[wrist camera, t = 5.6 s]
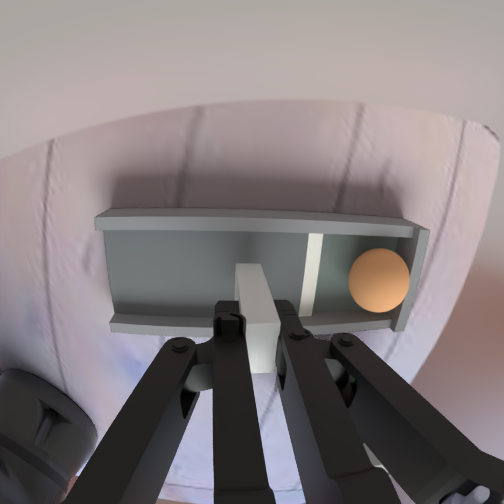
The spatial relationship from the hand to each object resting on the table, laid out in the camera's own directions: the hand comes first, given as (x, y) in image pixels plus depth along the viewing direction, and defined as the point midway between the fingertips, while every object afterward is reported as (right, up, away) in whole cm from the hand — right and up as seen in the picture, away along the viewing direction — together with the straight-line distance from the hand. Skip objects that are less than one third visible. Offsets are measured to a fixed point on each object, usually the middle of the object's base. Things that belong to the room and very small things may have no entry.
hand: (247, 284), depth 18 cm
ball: (+9, 0, +1) cm, 9 cm away
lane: (+1, +1, +3) cm, 3 cm away
